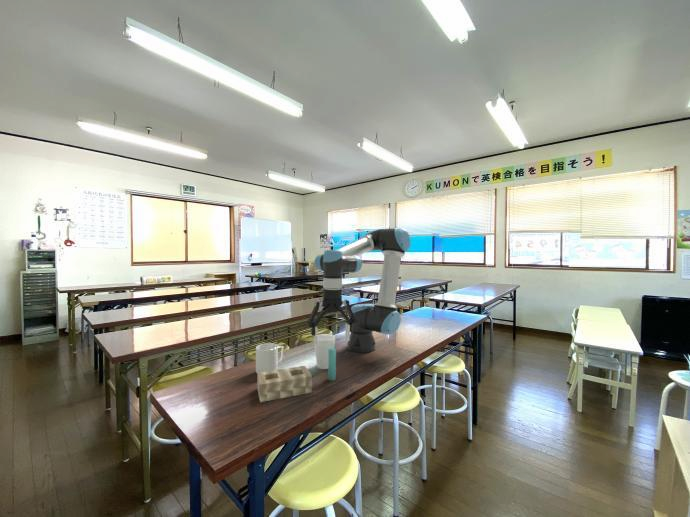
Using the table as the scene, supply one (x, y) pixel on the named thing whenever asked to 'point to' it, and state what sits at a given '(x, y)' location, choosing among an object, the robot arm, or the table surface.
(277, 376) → the hole block
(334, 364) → the peg
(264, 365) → the mug
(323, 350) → the foam cup
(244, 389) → the table surface
